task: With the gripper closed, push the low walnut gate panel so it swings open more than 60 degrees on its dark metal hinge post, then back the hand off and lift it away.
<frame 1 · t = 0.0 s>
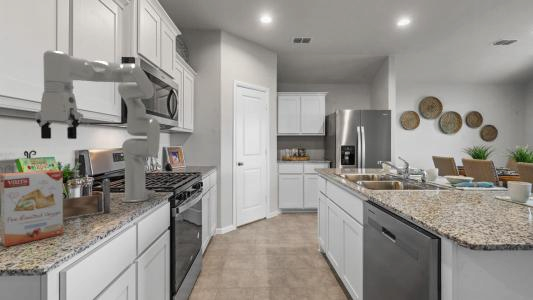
hand: (59, 138, 93), 31 cm above the worktop, tool pointing down, fingers open, 9 cm apart
gatepost: (106, 212, 114), on the worktop
gate: (71, 206, 105), point 5 cm above the worktop, hinge at 0.0°
cracker box: (33, 239, 84), on the worktop
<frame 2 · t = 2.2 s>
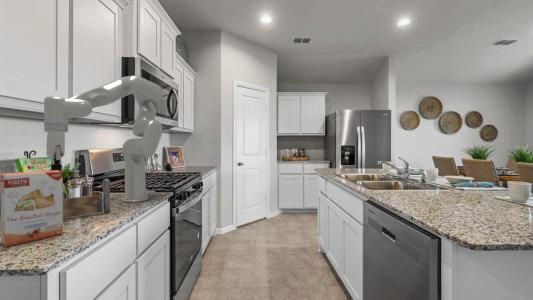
hand: (56, 174, 107), 17 cm above the worktop, tool pointing down, fingers closed
nothing on the worktop moved.
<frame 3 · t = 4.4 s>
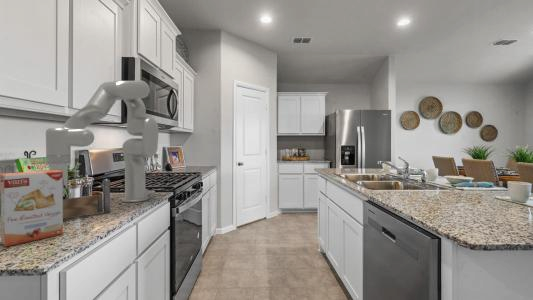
hand: (59, 207, 105), 5 cm above the worktop, tool pointing down, fingers closed
gate: (72, 207, 105), point 5 cm above the worktop, hinge at 3.3°, touching gripper
everything else where it was.
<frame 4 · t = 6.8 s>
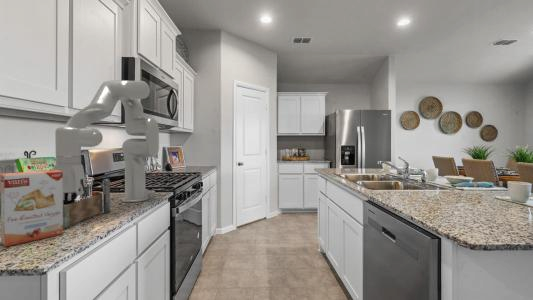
hand: (69, 210, 99), 5 cm above the worktop, tool pointing down, fingers closed
gate: (83, 208, 102), point 5 cm above the worktop, hinge at 44.4°, touching gripper
everything else where it was.
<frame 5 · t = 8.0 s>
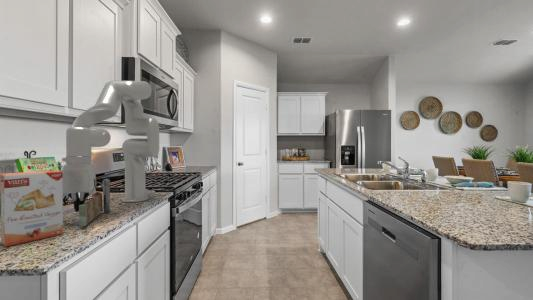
hand: (79, 210, 99), 5 cm above the worktop, tool pointing down, fingers closed
gate: (92, 208, 103), point 5 cm above the worktop, hinge at 62.3°, touching gripper
everything else where it was.
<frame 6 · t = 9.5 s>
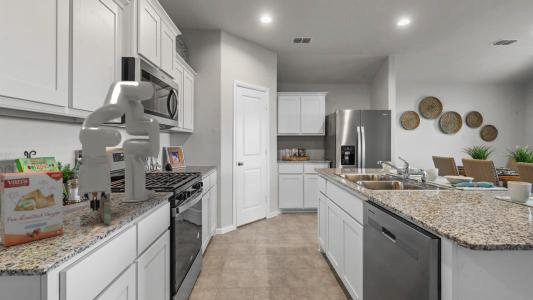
hand: (94, 210, 100), 5 cm above the worktop, tool pointing down, fingers closed
gate: (103, 207, 105), point 5 cm above the worktop, hinge at 84.2°, touching gripper
everything else where it was.
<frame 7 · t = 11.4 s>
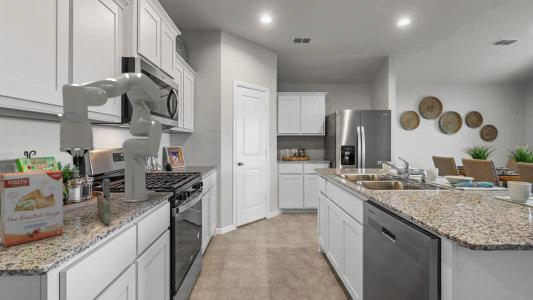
hand: (78, 166, 102), 21 cm above the worktop, tool pointing down, fingers closed
gate: (103, 207, 105), point 5 cm above the worktop, hinge at 84.2°
everything else where it was.
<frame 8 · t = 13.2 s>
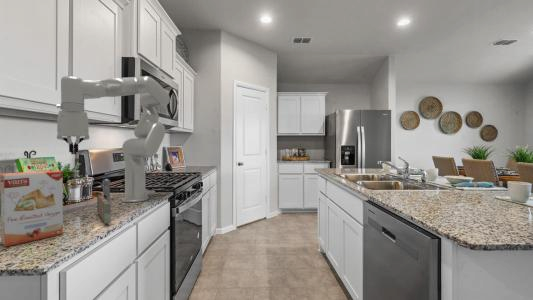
hand: (73, 154, 109), 25 cm above the worktop, tool pointing down, fingers closed
nothing on the worktop moved.
at the end: gate at +84° (first picture: +0°); cracker box moved 0.2 cm from its start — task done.
